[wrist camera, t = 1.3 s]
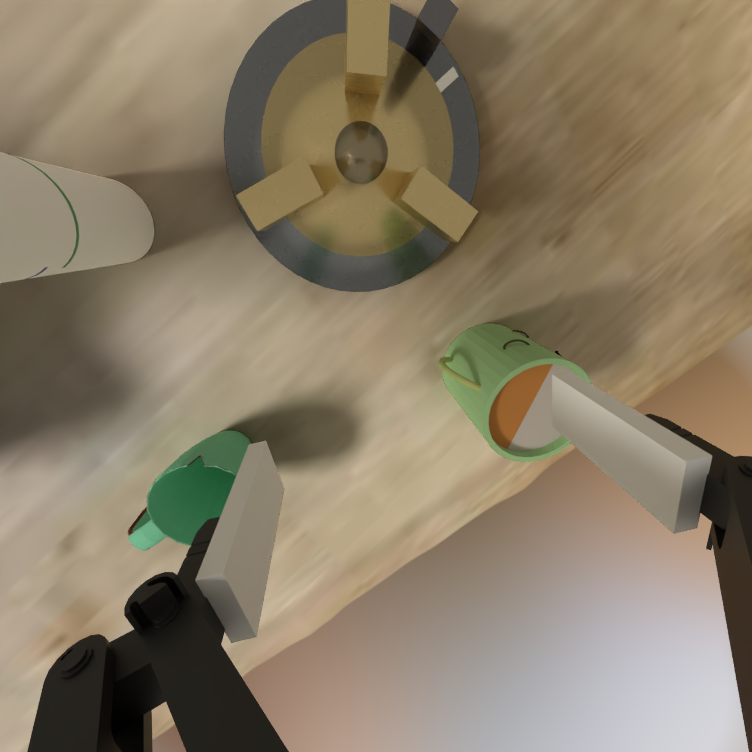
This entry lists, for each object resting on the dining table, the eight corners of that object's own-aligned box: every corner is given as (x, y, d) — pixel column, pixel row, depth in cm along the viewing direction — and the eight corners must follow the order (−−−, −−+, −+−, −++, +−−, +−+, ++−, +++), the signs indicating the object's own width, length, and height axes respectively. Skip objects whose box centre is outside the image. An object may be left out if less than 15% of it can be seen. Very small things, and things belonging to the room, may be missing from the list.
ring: (188, 204, 32) (153, 198, 26) (308, -68, 27) (301, -162, 20) (388, 327, 39) (400, 346, 32) (518, 130, 33) (563, 106, 27)
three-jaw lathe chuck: (229, 204, 31) (205, 198, 25) (334, -19, 26) (336, -93, 20) (391, 308, 36) (403, 323, 30) (502, 135, 31) (544, 112, 25)
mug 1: (236, 395, 40) (208, 444, 30) (291, 455, 43) (280, 515, 34) (135, 461, 41) (79, 527, 32) (196, 513, 45) (161, 586, 36)
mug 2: (541, 334, 41) (618, 372, 30) (501, 412, 45) (558, 471, 34) (444, 301, 39) (490, 329, 28) (409, 386, 42) (438, 442, 31)
